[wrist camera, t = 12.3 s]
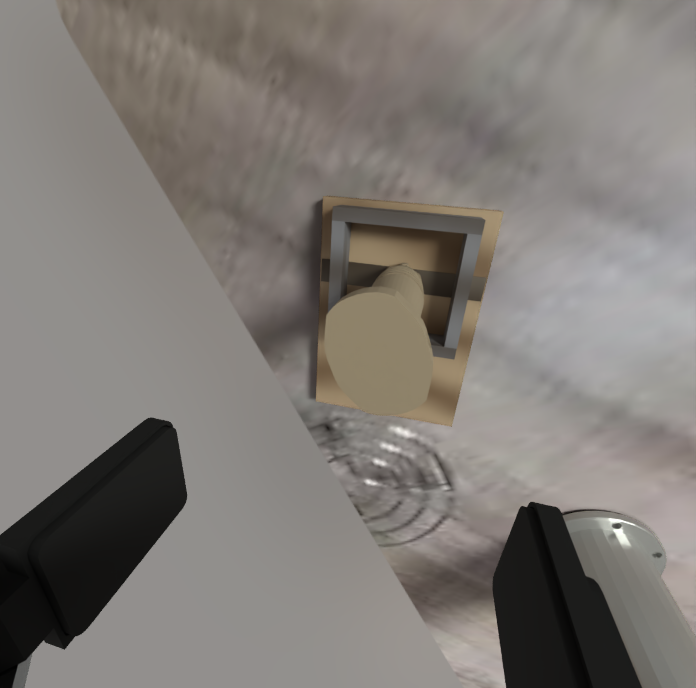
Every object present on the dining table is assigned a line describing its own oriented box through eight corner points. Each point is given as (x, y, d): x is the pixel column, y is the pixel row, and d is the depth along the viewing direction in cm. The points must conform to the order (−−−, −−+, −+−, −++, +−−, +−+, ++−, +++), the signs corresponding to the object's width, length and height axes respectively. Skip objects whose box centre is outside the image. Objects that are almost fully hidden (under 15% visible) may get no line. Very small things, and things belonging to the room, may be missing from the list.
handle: (385, 322, 32) (351, 422, 18) (363, 252, 30) (307, 308, 16) (439, 308, 30) (445, 406, 17) (420, 234, 28) (409, 279, 15)
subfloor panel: (450, 417, 36) (452, 443, 33) (320, 393, 38) (308, 415, 35) (500, 210, 28) (509, 214, 24) (328, 195, 30) (313, 197, 26)
